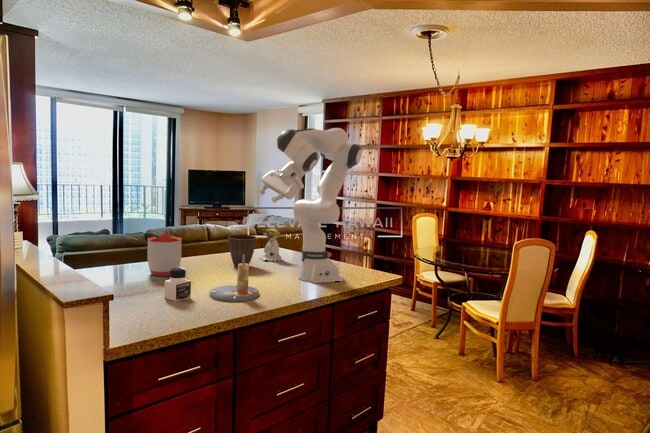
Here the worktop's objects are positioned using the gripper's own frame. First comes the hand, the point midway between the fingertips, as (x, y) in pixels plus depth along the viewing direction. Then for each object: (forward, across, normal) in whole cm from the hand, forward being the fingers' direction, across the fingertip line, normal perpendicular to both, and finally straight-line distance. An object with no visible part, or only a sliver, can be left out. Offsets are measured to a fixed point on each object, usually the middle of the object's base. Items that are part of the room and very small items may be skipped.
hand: (266, 197), depth 177 cm
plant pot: (+25, -31, +48) cm, 62 cm away
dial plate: (+38, +9, +18) cm, 43 cm away
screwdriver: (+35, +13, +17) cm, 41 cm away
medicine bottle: (+54, +2, +5) cm, 54 cm away
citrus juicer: (+54, -37, +20) cm, 68 cm away
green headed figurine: (+10, -37, +66) cm, 76 cm away
